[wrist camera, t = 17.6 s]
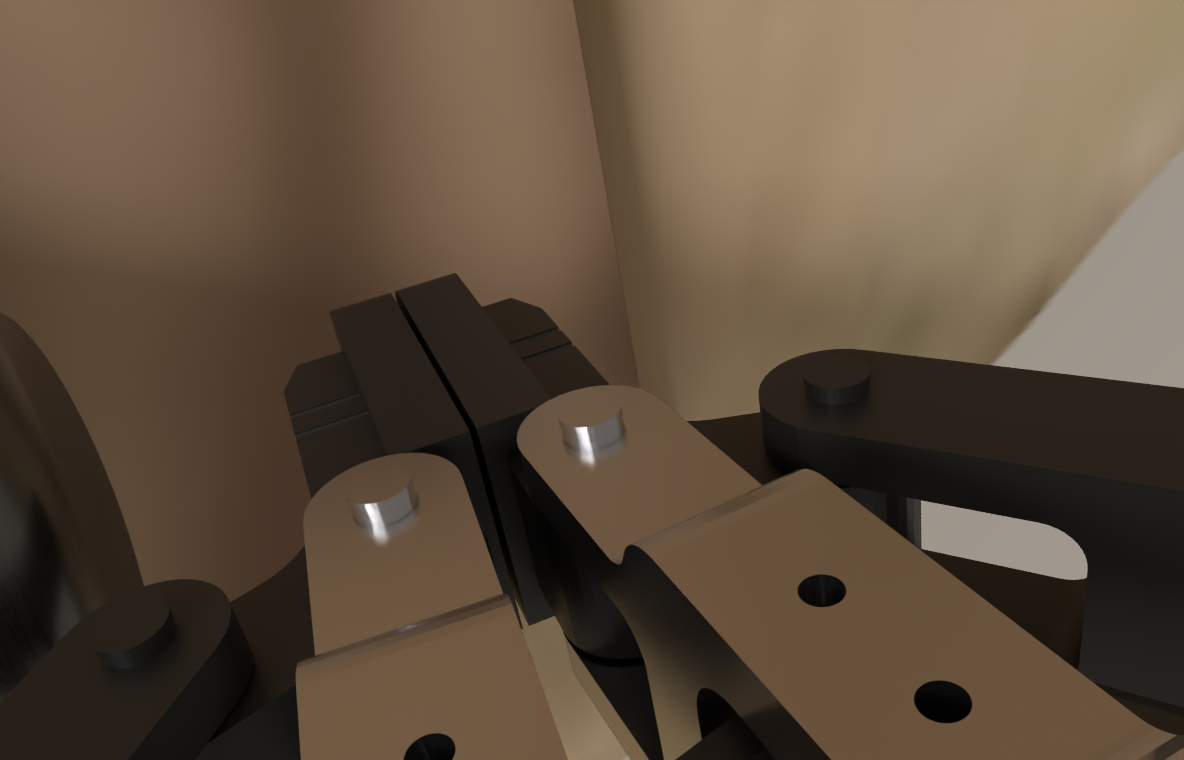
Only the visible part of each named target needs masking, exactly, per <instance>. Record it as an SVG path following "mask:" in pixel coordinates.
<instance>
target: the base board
mask: <svg viewBox="0 0 1184 760" xmlns="http://www.w3.org/2000/svg"><path fill="white" fill-rule="evenodd" d="M452 273H456V274H457V275H458V276H459V277H460V279H461V280H462V281H463V283H464V284H465V285H466V287H467V288H468V289H469V290H470V292H471V293H472V294H473V296H474V297H475V298H476V300H477V301H478V302H479V304H480V305H481V306H482V307H483V306H486V305H490V304H493V303H496V302H499V301H502V300H505V299H509V298H513V299H516V300H519V301H522V302H525V303H528V304H531V305H534V306H537V307H540V308H542V309H543V310H544V311H545V312H546V313H547V315H548V316H549V317H550V318H551V319H552V320H553V321H554V322H555V324H556V325H557V326H558V328H559V331H561V330H562V331H563V333H564V334H565V335H566V336H567V337H568V338H569V339H570V340H571V342H572V345H573V346H576V347H577V348H578V349H579V351H580V352H581V353H582V354H583V355H584V356H585V357H586V358H587V360H588V361H589V362H590V363H591V364H592V365H593V366H594V367H595V369H596V370H597V371H598V372H599V373H600V374H601V375H602V376H603V378H604V379H605V380H606V381H607V382H608V383H609V384H610V385H622V386H629V387H635V388H639V383H638V377H637V371H636V365H635V360H634V354H633V348H632V342H631V336H630V330H629V325H628V319H627V313H626V307H625V301H624V295H623V289H622V284H621V278H620V272H619V266H618V260H617V254H616V249H615V243H614V237H613V231H612V225H611V219H610V213H609V208H608V202H607V196H606V190H605V184H604V178H603V172H602V167H601V161H600V155H599V149H598V143H597V137H596V132H595V126H594V120H593V114H592V108H591V102H590V96H589V91H588V85H587V79H586V73H585V67H584V61H583V56H582V50H581V44H580V38H579V32H578V26H577V20H576V15H575V9H574V3H573V0H0V313H3V314H4V315H6V316H8V317H10V318H11V319H12V320H14V321H15V322H16V323H17V324H18V325H19V326H21V327H22V328H23V329H24V331H25V332H26V333H27V334H28V335H29V336H30V337H31V338H32V339H33V341H34V342H35V343H36V344H37V346H38V347H39V348H40V350H41V351H42V352H43V354H44V355H45V356H46V358H47V359H48V361H49V362H50V364H51V365H52V367H53V368H54V370H55V371H56V373H57V375H58V376H59V378H60V380H61V381H62V383H63V384H64V386H65V388H66V390H67V391H68V393H69V395H70V397H71V399H72V400H73V402H74V404H75V406H76V408H77V410H78V412H79V414H80V416H81V418H82V420H83V422H84V424H85V426H86V428H87V430H88V432H89V434H90V436H91V438H92V440H93V443H94V445H95V447H96V449H97V452H98V454H99V456H100V458H101V461H102V463H103V465H104V468H105V470H106V473H107V475H108V478H109V480H110V483H111V485H112V488H113V490H114V493H115V496H116V498H117V501H118V504H119V506H120V509H121V512H122V515H123V518H124V521H125V524H126V527H127V530H128V532H129V535H130V539H131V542H132V545H133V548H134V552H135V555H136V558H137V562H138V565H139V569H140V573H141V576H142V580H143V584H144V586H147V585H150V584H154V583H158V582H163V581H168V580H177V579H195V580H201V581H206V582H208V583H211V584H214V585H215V586H217V587H218V588H220V589H221V590H223V592H224V593H225V594H226V596H227V597H228V599H229V601H230V602H232V601H233V600H235V599H237V598H238V597H240V596H242V595H243V594H245V593H247V592H248V591H250V590H252V589H253V588H255V587H257V586H259V585H260V584H262V583H263V582H265V581H266V580H268V579H269V578H271V577H272V576H274V575H275V574H276V573H278V572H279V571H280V570H281V569H283V568H284V567H285V566H286V565H287V564H288V563H289V562H290V561H291V560H292V559H293V558H294V557H295V556H296V555H297V554H298V553H299V552H300V550H301V549H302V548H303V547H304V545H305V540H304V529H303V517H304V513H305V510H306V507H307V506H308V504H309V502H310V501H311V496H310V492H309V488H308V484H307V480H306V476H305V473H304V469H303V465H302V461H301V457H300V453H299V449H298V446H297V442H296V437H295V434H294V430H293V426H292V422H291V417H290V415H289V411H288V407H287V403H286V399H285V395H284V390H285V388H286V386H287V384H288V382H289V380H290V378H291V376H292V374H293V372H294V370H295V368H296V366H297V365H300V364H303V363H307V362H310V361H313V360H316V359H319V358H322V357H326V356H329V355H332V354H335V353H338V352H341V348H340V345H339V342H338V339H337V336H336V333H335V330H334V327H333V323H332V320H331V317H330V313H329V311H332V310H335V309H339V308H342V307H345V306H348V305H352V304H355V303H358V302H361V301H365V300H368V299H371V298H375V297H378V296H381V295H384V294H388V293H391V294H392V295H393V297H394V299H395V301H396V297H395V291H397V290H400V289H403V288H407V287H410V286H413V285H416V284H420V283H423V282H426V281H430V280H433V279H436V278H439V277H443V276H446V275H449V274H452Z"/></svg>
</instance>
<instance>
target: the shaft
mask: <svg viewBox="0 0 1184 760" xmlns="http://www.w3.org/2000/svg"><path fill="white" fill-rule="evenodd" d="M141 587H144V584H143V580H142V576H141V573H140V569H139V565H138V562H137V558H136V555H135V552H134V548H133V545H132V542H131V539H130V535H129V532H128V530H127V527H126V524H125V521H124V518H123V515H122V512H121V509H120V506H119V504H118V501H117V498H116V496H115V493H114V490H113V488H112V485H111V483H110V480H109V478H108V475H107V473H106V470H105V468H104V465H103V463H102V461H101V458H100V456H99V454H98V452H97V449H96V447H95V445H94V443H93V440H92V438H91V436H90V434H89V432H88V430H87V428H86V426H85V424H84V422H83V420H82V418H81V416H80V414H79V412H78V410H77V408H76V406H75V404H74V402H73V400H72V399H71V397H70V395H69V393H68V391H67V390H66V388H65V386H64V384H63V383H62V381H61V380H60V378H59V376H58V375H57V373H56V371H55V370H54V368H53V367H52V365H51V364H50V362H49V361H48V359H47V358H46V356H45V355H44V354H43V352H42V351H41V350H40V348H39V347H38V346H37V344H36V343H35V342H34V341H33V339H32V338H31V337H30V336H29V335H28V334H27V333H26V332H25V331H24V329H23V328H22V327H21V326H19V325H18V324H17V323H16V322H15V321H14V320H12V319H11V318H10V317H8V316H6V315H4V314H3V313H0V702H1V701H2V700H3V699H4V698H5V697H6V696H7V695H8V694H9V693H10V692H11V691H12V690H13V689H14V688H15V687H16V686H17V684H18V683H19V682H20V681H21V680H22V679H23V678H24V677H25V676H26V675H27V674H28V673H29V672H30V671H31V670H32V669H33V668H34V667H35V666H36V665H37V664H38V663H39V662H40V661H41V660H42V659H43V658H44V657H45V655H46V654H47V653H48V652H49V651H50V650H51V649H52V648H53V647H54V646H55V645H56V644H57V643H58V642H59V641H60V640H61V639H62V638H63V637H64V636H65V635H66V634H67V633H68V632H69V631H70V630H71V629H72V628H73V627H74V626H75V625H76V624H77V623H78V622H80V621H81V620H82V619H84V618H85V617H86V616H88V615H89V614H90V613H91V612H93V611H95V610H96V609H98V608H99V607H101V606H102V605H104V604H106V603H107V602H109V601H111V600H113V599H115V598H117V597H119V596H121V595H123V594H125V593H128V592H130V591H133V590H135V589H138V588H141Z"/></svg>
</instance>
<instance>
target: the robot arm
mask: <svg viewBox="0 0 1184 760" xmlns="http://www.w3.org/2000/svg"><path fill="white" fill-rule="evenodd" d="M395 297H396V301H395V299H394V297H393V295H392V294H391V293H388V294H384V295H381V296H378V297H375V298H371V299H368V300H365V301H361V302H358V303H355V304H352V305H348V306H345V307H342V308H339V309H335V310H332V311H329V313H330V317H331V320H332V323H333V327H334V330H335V333H336V336H337V339H338V342H339V345H340V348H341V352H338V353H335V354H332V355H329V356H326V357H322V358H319V359H316V360H313V361H310V362H307V363H303V364H300V365H297V366H296V368H295V370H294V372H293V374H292V376H291V378H290V380H289V382H288V384H287V386H286V388H285V390H284V395H285V399H286V403H287V407H288V411H289V415H290V417H291V422H292V426H293V430H294V434H295V437H296V442H297V446H298V449H299V453H300V457H301V461H302V465H303V469H304V473H305V476H306V480H307V484H308V488H309V492H310V496H311V501H310V502H309V504H308V506H307V507H306V510H305V513H304V517H303V529H304V540H305V545H304V547H303V548H302V549H301V550H300V552H299V553H298V554H297V555H296V556H295V557H294V558H293V559H292V560H291V561H290V562H289V563H288V564H287V565H286V566H285V567H284V568H283V569H281V570H280V571H279V572H278V573H276V574H275V575H274V576H272V577H271V578H269V579H268V580H266V581H265V582H263V583H262V584H260V585H259V586H257V587H255V588H253V589H252V590H250V591H248V592H247V593H245V594H243V595H242V596H240V597H238V598H237V599H235V600H233V601H232V602H230V601H229V599H228V597H227V596H226V594H225V593H224V592H223V590H221V589H220V588H218V587H217V586H215V585H214V584H211V583H208V582H206V581H201V580H195V579H177V580H168V581H163V582H158V583H154V584H150V585H147V586H144V587H141V588H138V589H135V590H133V591H130V592H128V593H125V594H123V595H121V596H119V597H117V598H115V599H113V600H111V601H109V602H107V603H106V604H104V605H102V606H101V607H99V608H98V609H96V610H95V611H93V612H91V613H90V614H89V615H88V616H86V617H85V618H84V619H82V620H81V621H80V622H78V623H77V624H76V625H75V626H74V627H73V628H72V629H71V630H70V631H69V632H68V633H67V634H66V635H65V636H64V637H63V638H62V639H61V640H60V641H59V642H58V643H57V644H56V645H55V646H54V647H53V648H52V649H51V650H50V651H49V652H48V653H47V654H46V655H45V657H44V658H43V659H42V660H41V661H40V662H39V663H38V664H37V665H36V666H35V667H34V668H33V669H32V670H31V671H30V672H29V673H28V674H27V675H26V676H25V677H24V678H23V679H22V680H21V681H20V682H19V683H18V684H17V686H16V687H15V688H14V689H13V690H12V691H11V692H10V693H9V694H8V695H7V696H6V697H5V698H4V699H3V700H2V701H1V702H0V760H568V759H567V756H566V753H565V751H564V748H563V745H562V742H561V739H560V737H559V734H558V731H557V728H556V725H555V723H554V720H553V717H552V714H551V711H550V709H549V706H548V703H547V700H546V697H545V695H544V692H543V689H542V686H541V683H540V681H539V678H538V675H537V672H536V670H535V667H534V664H533V661H532V658H531V656H530V653H529V650H528V647H527V644H526V642H525V639H524V636H523V633H522V630H521V629H523V627H522V624H521V620H520V616H519V613H518V609H517V605H516V601H517V603H518V605H519V607H520V609H521V611H522V613H523V615H524V617H525V619H526V621H527V623H528V625H529V626H530V625H532V624H535V623H537V622H540V621H542V620H545V619H547V618H550V617H552V616H556V618H557V620H558V622H559V624H560V626H561V628H562V629H563V632H564V636H565V640H566V645H567V649H568V653H569V657H570V661H571V665H572V669H573V672H574V674H575V676H576V678H577V680H578V681H579V683H580V684H581V686H582V687H583V689H584V690H585V692H586V693H587V695H588V696H589V698H590V699H591V701H592V702H593V704H594V705H595V707H596V708H597V710H598V711H599V713H600V714H601V716H602V717H603V719H604V720H605V722H606V723H607V725H608V726H609V728H610V729H611V731H612V732H613V734H614V735H615V737H616V738H617V740H618V741H619V743H620V744H621V746H622V747H623V749H624V750H625V752H626V753H627V755H628V756H629V758H630V759H631V760H1184V388H1176V387H1168V386H1159V385H1151V384H1143V383H1134V382H1126V381H1118V380H1109V379H1101V378H1093V377H1083V376H1076V375H1068V374H1059V373H1050V372H1042V371H1033V370H1026V369H1017V368H1009V367H1000V366H992V365H984V364H975V363H967V362H959V361H950V360H942V359H934V358H925V357H917V356H909V355H900V354H892V353H883V352H875V351H867V350H856V349H833V350H823V351H818V352H812V353H808V354H805V355H801V356H798V357H795V358H793V359H790V360H788V361H786V362H784V363H782V364H780V365H778V366H777V367H776V368H774V369H773V370H772V371H770V372H769V373H768V374H767V375H766V376H765V378H764V379H763V381H762V382H761V384H760V388H759V403H760V412H759V413H752V414H746V415H739V416H733V417H726V418H720V419H712V420H703V421H686V420H684V419H683V418H682V417H681V416H680V415H679V414H677V413H676V412H675V411H674V410H673V409H671V408H670V407H669V406H668V405H667V404H666V403H664V402H663V401H662V400H661V399H660V398H658V397H657V396H655V395H654V394H652V393H650V392H647V391H645V390H642V389H639V388H635V387H629V386H622V385H610V384H609V383H608V382H607V381H606V380H605V379H604V378H603V376H602V375H601V374H600V373H599V372H598V371H597V370H596V369H595V367H594V366H593V365H592V364H591V363H590V362H589V361H588V360H587V358H586V357H585V356H584V355H583V354H582V353H581V352H580V351H579V349H578V348H577V347H576V346H573V345H572V342H571V340H570V339H569V338H568V337H567V336H566V335H565V334H564V333H563V331H562V330H561V331H559V328H558V326H557V325H556V324H555V322H554V321H553V320H552V319H551V318H550V317H549V316H548V315H547V313H546V312H545V311H544V310H543V309H542V308H540V307H537V306H534V305H531V304H528V303H525V302H522V301H519V300H516V299H513V298H509V299H505V300H502V301H499V302H496V303H493V304H490V305H486V306H483V307H482V306H481V305H480V304H479V302H478V301H477V300H476V298H475V297H474V296H473V294H472V293H471V292H470V290H469V289H468V288H467V287H466V285H465V284H464V283H463V281H462V280H461V279H460V277H459V276H458V275H457V274H456V273H452V274H449V275H446V276H443V277H439V278H436V279H433V280H430V281H426V282H423V283H420V284H416V285H413V286H410V287H407V288H403V289H400V290H397V291H395ZM921 500H923V501H928V502H933V503H938V504H944V505H949V506H955V507H960V508H965V509H971V510H975V511H981V512H986V513H991V514H996V515H1002V516H1007V517H1012V518H1018V519H1023V520H1028V521H1034V522H1039V523H1043V524H1047V525H1050V526H1053V527H1055V528H1057V529H1059V530H1061V531H1063V532H1065V533H1066V534H1067V535H1069V536H1070V537H1071V538H1073V539H1074V540H1075V541H1076V542H1077V543H1078V545H1079V546H1080V547H1081V548H1082V550H1083V552H1084V554H1085V556H1086V559H1087V563H1088V573H1087V574H1088V575H1087V578H1085V579H1080V580H1065V579H1059V578H1055V577H1050V576H1045V575H1040V574H1036V573H1031V572H1026V571H1022V570H1017V569H1012V568H1007V567H1003V566H998V565H993V564H988V563H984V562H980V561H975V560H970V559H965V558H961V557H956V556H951V555H947V554H942V553H937V552H932V551H928V550H923V549H921ZM514 597H515V598H514ZM515 599H516V601H515Z"/></svg>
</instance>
